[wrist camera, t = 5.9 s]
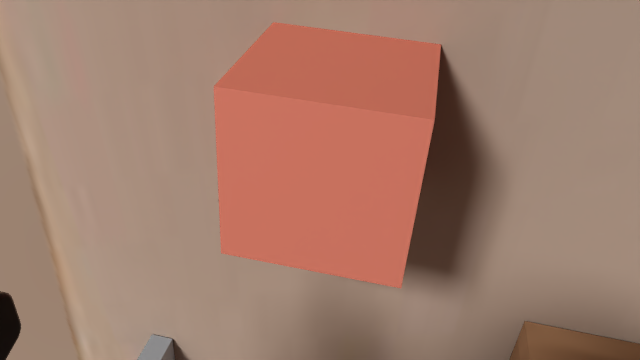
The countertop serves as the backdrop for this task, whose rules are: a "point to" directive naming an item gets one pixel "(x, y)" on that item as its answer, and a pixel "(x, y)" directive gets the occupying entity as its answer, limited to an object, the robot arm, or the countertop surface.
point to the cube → (325, 150)
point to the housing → (569, 345)
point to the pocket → (158, 349)
